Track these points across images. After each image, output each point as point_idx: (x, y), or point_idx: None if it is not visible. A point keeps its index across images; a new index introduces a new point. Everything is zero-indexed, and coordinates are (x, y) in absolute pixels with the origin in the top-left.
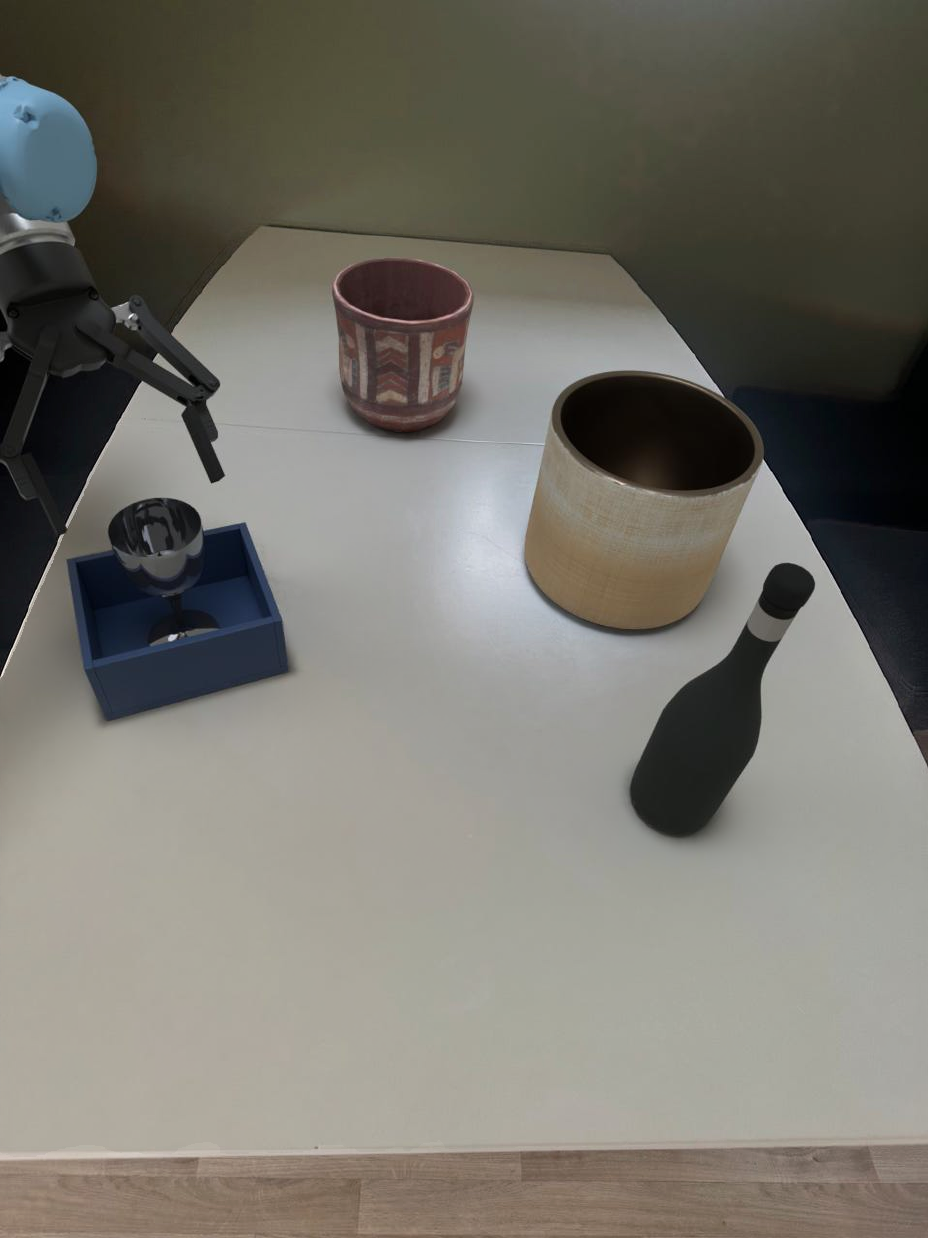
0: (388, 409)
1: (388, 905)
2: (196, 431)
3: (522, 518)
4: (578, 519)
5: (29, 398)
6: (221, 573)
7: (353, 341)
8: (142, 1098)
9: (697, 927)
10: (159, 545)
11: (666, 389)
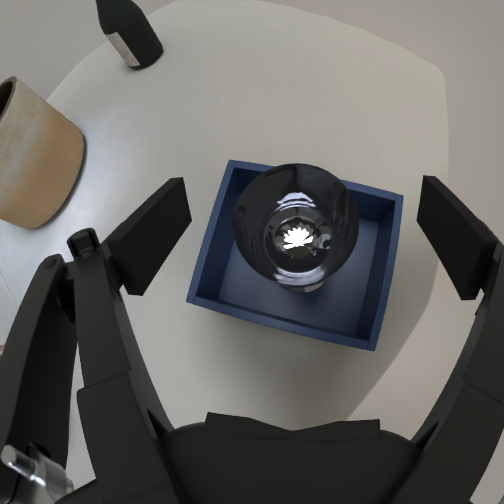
0: None
1: (281, 54)
2: (147, 214)
3: (46, 239)
4: (35, 122)
5: (496, 338)
6: (237, 305)
7: None
8: (400, 54)
9: (186, 25)
10: (289, 278)
11: None
